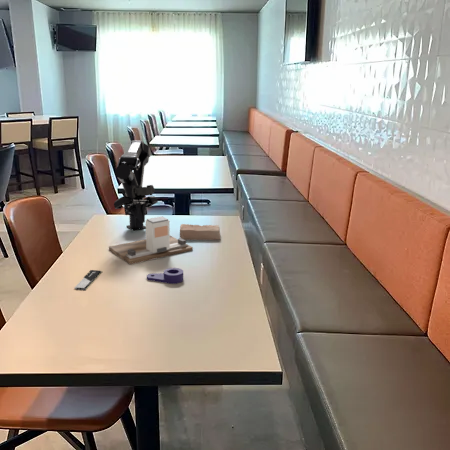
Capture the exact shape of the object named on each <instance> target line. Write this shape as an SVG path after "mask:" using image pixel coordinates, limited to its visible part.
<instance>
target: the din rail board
mask: <svg viewBox="0 0 450 450" xmlns="http://www.w3.org/2000/svg"><path fill="white" fill-rule="evenodd" d="M186 241H187V240H185V239H182V238H181V239H180V238H178V239H177V238H176V237H174V236H173V235H170V249H168V250H167V251H162V252H154V253H152V252H151V251H149V250H148V249H146V238H145V239H141V240H136V241H130V242H125V243H121V244H120V243H119V244H116V245H110V246H108V250H109V251H111V252H112V253H113V254H115V255H116V256H117V257H119V258H121V259H122V260H123V261H124V262H126V263H128V264H129V265H134V264H138V263H142V262H146V261H152V260H156V259H159V258H160V259H161V258H165V257H169V256H174V255H177V254H182V253H186V252H190V251H193V249H194V248H193V246H191V245H189V244H188V243H186Z"/></svg>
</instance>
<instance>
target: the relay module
mask: <svg viewBox="0 0 450 450" xmlns="http://www.w3.org/2000/svg"><path fill="white" fill-rule="evenodd" d="M145 226H146V228H145V239H146V249H148V250H149V251H151V252H152V253H154V252H162V251H167V250H168V249H170V236H171V235H170V232H171V231H170V229H171V228H170V220H169V218H166V217H164V216H157V217H151V218H146V219H145Z"/></svg>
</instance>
